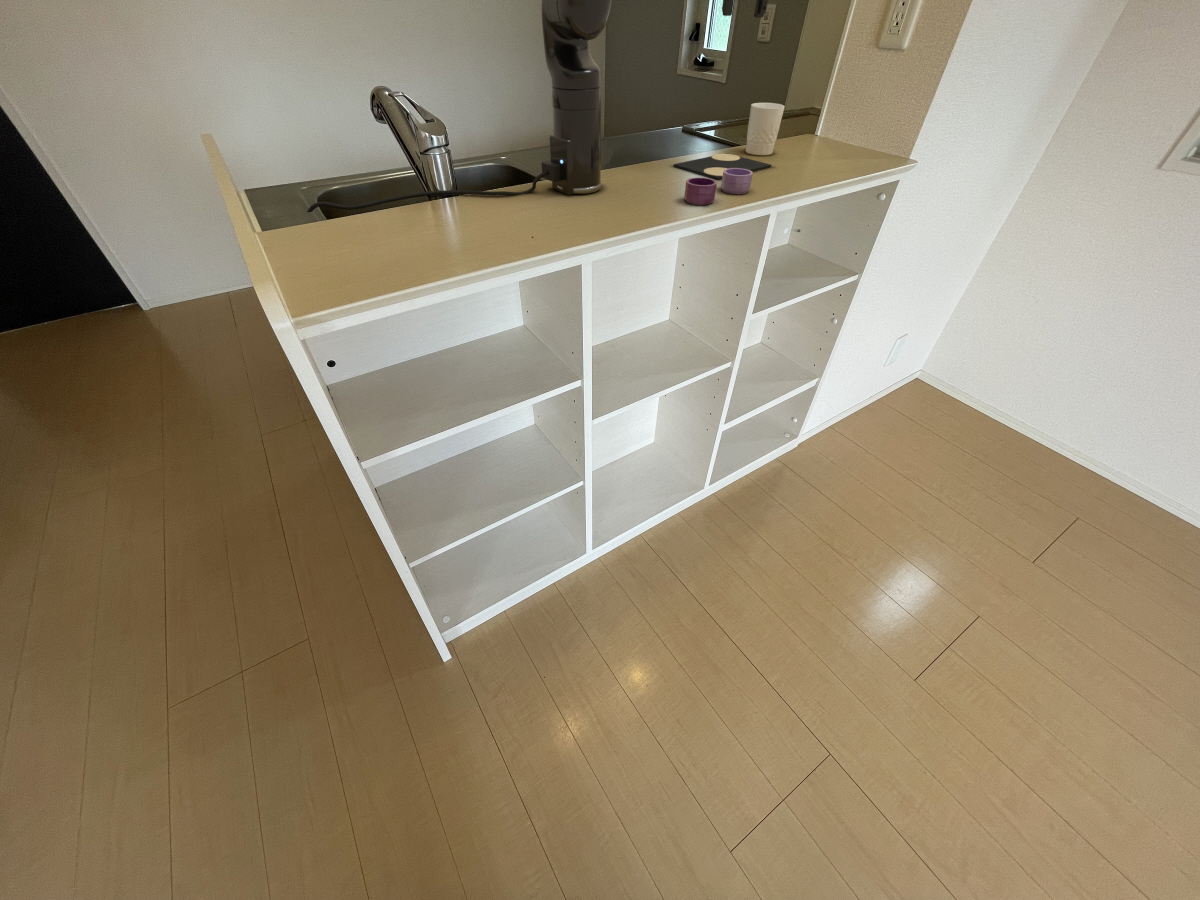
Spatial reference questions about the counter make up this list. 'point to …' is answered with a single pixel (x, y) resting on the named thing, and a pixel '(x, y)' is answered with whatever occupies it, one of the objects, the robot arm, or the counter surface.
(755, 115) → the white cup
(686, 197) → the plum dish
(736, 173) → the lilac dish
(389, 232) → the counter surface
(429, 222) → the counter surface
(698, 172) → the mat
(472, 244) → the counter surface
